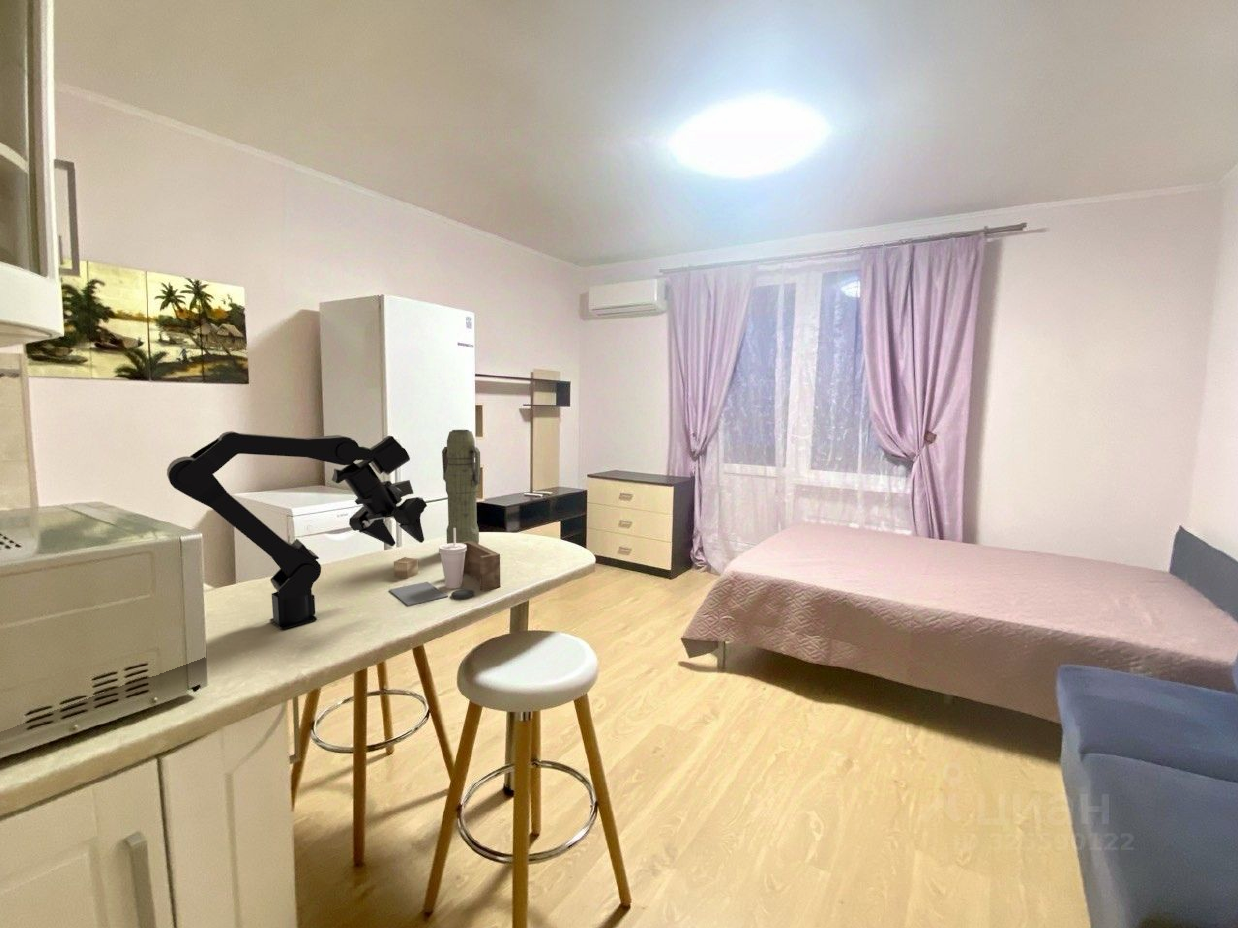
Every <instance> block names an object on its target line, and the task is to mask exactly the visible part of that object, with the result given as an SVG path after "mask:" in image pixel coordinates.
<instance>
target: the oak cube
mask: <svg viewBox="0 0 1238 928" xmlns="http://www.w3.org/2000/svg"><path fill="white" fill-rule="evenodd" d="M393 573H394V575H393V576H394V577H395V578H399V579H407V580H408V579H410V578H412V577H415V576H416V575H419V560H418V558H415V557H406V556H404V557H401V558H398V559H396V560H394V561H393Z"/></svg>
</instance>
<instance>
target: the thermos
mask: <svg viewBox="0 0 1238 928" xmlns="http://www.w3.org/2000/svg"><path fill="white" fill-rule="evenodd" d="M441 455H442V456H441V459H442V479H443V481H444V482H445V492H446V494H447V528H446V544H448V543H454V537H453V528H456V543H462V542H468V541H473V542H475V543H477V544H479V542H480V531H479V530H480V529H479V528H480V527H479V526H478V523H477V521H478V519H477V517H478V516H477V513H478V511H477V493H478V491H479V487H478V485H479V484H481V451H480V450H479V448H478V447H476V443H475V437H474V434H473V432H472V431H470V430H469V429H452V430H451V431H449V433H448V435H447V438H446V446H444V447H443V449H442V451H441Z"/></svg>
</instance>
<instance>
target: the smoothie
mask: <svg viewBox="0 0 1238 928" xmlns="http://www.w3.org/2000/svg"><path fill="white" fill-rule="evenodd" d="M453 537H454V543H448V544H447V543H444V544H441V545H439V547H438V552H439V554H440V560H441V564H442V565H441V566H442V572H443V579H444V585H445V588H446V589H451V590H452V589H458V588H461V587H462V586H463V580H464V579H463V578H464V575H463V570H464V560H465V551H466V550H467V546H466V545H465V544H462V543H456V528H453Z"/></svg>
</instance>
